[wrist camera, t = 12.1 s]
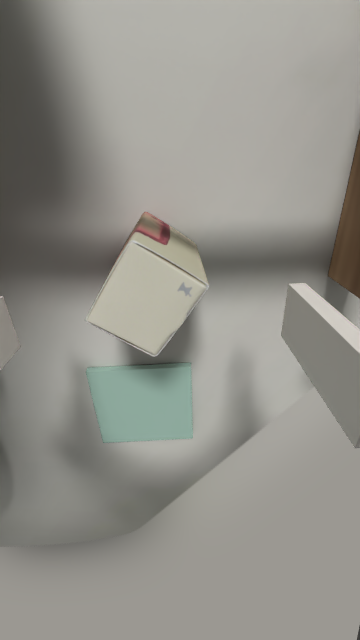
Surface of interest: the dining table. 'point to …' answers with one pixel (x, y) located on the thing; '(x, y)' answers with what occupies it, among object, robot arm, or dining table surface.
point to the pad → (142, 401)
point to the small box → (150, 287)
